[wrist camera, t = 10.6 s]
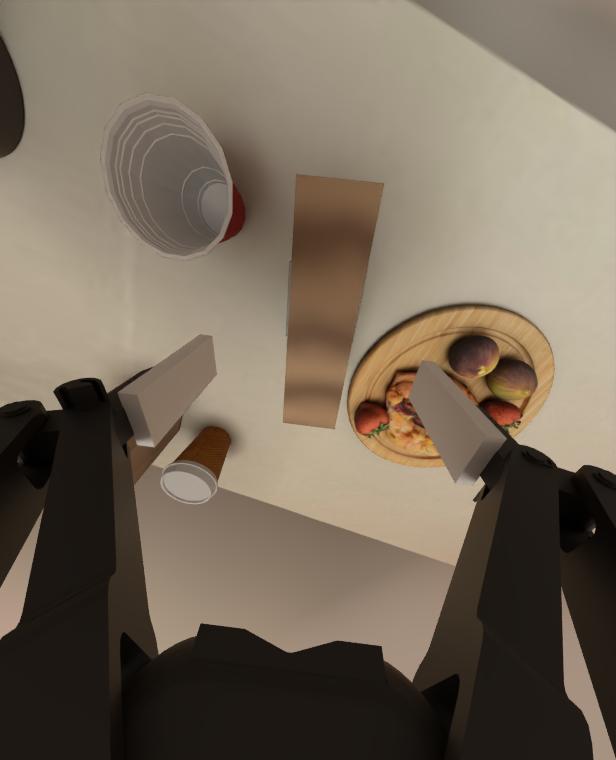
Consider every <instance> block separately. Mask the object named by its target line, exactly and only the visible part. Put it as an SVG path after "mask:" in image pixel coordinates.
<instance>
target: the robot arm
mask: <svg viewBox="0 0 616 760" xmlns="http://www.w3.org/2000/svg"><path fill="white" fill-rule="evenodd" d="M22 127H23V105H22V98H21V93H20V88H19V84H18V81H17V77H16V74H15V71H14V68H13V65H12V63H11V60H10V58H9V55H8V53H7V51H6V49H5V47H4V44H3V42H2V40H1V38H0V157H2V156H5V155H7V154H8V153H10V152H11V151H12V150H13V149H14V148H15V147H16V145H17V143H18V141H19V139H20V136H21V132H22ZM216 375H217V372H216V363H215V355H214V347H213V338H212V336H208V335H199V336H197V337H196V338H195V339H193V340H192V341H190V342H189V343H187V344H186V345H185V346H183V347H182V348H180V349H179V350H177V351H176V352H175V353H173V354H172V355H170V356H169V357H167V358H166V359H165V360H163V361H162V362H160V363H159V364H157V365H156V366H155V367H153V368H152V367H151V368H149V369H146V370H143V371H141V372H139V373H138V374H136V375H135V376H133V378H130V379H129V380H127V381H126V383H123V384H122V385H120V386H119V387H117V388H116V389H114V390H113V391H111V392H110V393H108V394H107V392H106V390H105V388H104V385H103V383H102V381H101V380H100V379H97V378H82V379H77V380H73V381H69V382H67V383H64V384H62V385H60V386H59V387H57V388H56V389H55V390H54V394H55V396H56V397H57V399H58V401H59V403H60V405H61V406H62V408H63V410H52V411H46V410H45V408H44V406H43V405H42V403H41V402H40V401H35V400H27V401H20V402H13V403H12V404H7V405H4V406H3V407H1V408H0V587H1V585H2V584H3V582H4V580H5V578H6V576H7V574H8V573H9V571H10V569H11V567H12V565H13V563H14V562H15V560H16V558H17V556H18V554H19V552H20V550H21V549H22V547H23V545H24V543H25V541H26V539H27V538H28V536H29V534H30V532H31V530H32V528H33V527H34V524H35V523H36V521H37V519H38V517H39V515H40V514H41V512H42V510H43V514H42V519H41V524H40V529H39V534H38V539H37V544H36V548H35V553H34V559H33V563H32V568H31V573H30V578H29V583H28V588H27V592H26V598H25V602H24V607H23V613H22V616H21V619H20V622H19V623H18V625H17V627H16V628H15V629H14V630H12V631H11V632H9V633H8V634H6V635H5V636H3V637H2V638H1V640H0V760H593V749H592V741H591V736H590V731H589V726H588V724H587V721H586V719H585V717H584V715H583V713H582V711H581V710H580V709H579V708H578V707H577V706H576V705H575V704H574V703H573V702H572V701H571V700H569V698H568V696H567V694H566V692H565V687H564V673H563V637H562V602H561V587H562V590H563V593H564V596H565V599H566V602H567V605H568V609H569V612H570V615H571V618H572V621H573V624H574V628H575V631H576V634H577V637H578V640H579V643H580V647H581V649H582V653H583V656H584V659H585V662H586V666H587V669H588V672H589V675H590V678H591V681H592V684H593V688H594V691H595V694H596V697H597V700H598V703H599V707H600V710H601V713H602V716H603V719H604V722H605V725H606V729H607V732H608V735H609V738H610V741H611V744H612V748H613V751H614V754H615V757H616V475H615V474H613V473H611V472H609V471H606V470H603V469H601V468H598V467H595V466H591V465H584V466H582V467H581V468H580V469H579V470H578V471H577V472H576V473H574V472H570V471H567V470H564V469H561V468H558V467H557V466H556V464H555V463H554V462H553V461H552V460H551V459H550V458H549V457H548V456H546V455H545V454H543V453H542V452H540V451H538V450H536V449H534V448H531V447H528V446H524V445H519V444H518V443H517V442H516V441H515V440H514V439H513V438H512V437H511V436H510V435H509V434H508V433H507V432H506V431H505V430H504V429H503V428H502V427H501V426H499V424H498V423H497V422H496V420H494V418H493V417H492V416H491V415H490V414H489V413H488V412H487V411H485V410H484V409H482V408H481V407H479V406H478V405H475V404H474V403H473V402H472V401H471V400H470V399H469V398H468V397H467V396H466V395H465V394H464V393H463V392H462V391H461V390H460V388H459V387H458V386H457V385H456V384H455V383H454V382H453V381H452V380H451V379H450V378H449V377H448V376H447V375H446V374H445V373H444V372H443V370H442V369H441V368H440V367H439V366H438V365H437V364H436V363H435V362H433V361H425V360H422V361H421V364H420V366H419V369H418V371H417V374H416V377H415V379H414V382H413V385H412V387H411V390H410V392H409V395H408V398H409V400H410V402H411V403H412V405H413V407H414V409H415V411H416V413H417V414H418V416H419V418H420V420H421V422H422V423H423V425H424V427H425V429H426V431H427V433H428V434H429V436H430V438H431V440H432V442H433V444H434V445H435V447H436V449H437V451H438V453H439V454H440V456H441V458H442V460H443V462H444V464H445V465H446V467H447V469H448V471H449V473H450V475H451V476H452V478H453V480H454V482H455V483H458V484H466V485H474V483H475V482H476V481H477V479H478V478H479V476H481V478H482V479H483V481H484V482H485V485H484V486H483V488H482V489H481V490H480V492H479V493H478V494H477V495H476V497H475V498H474V499H473V501H474V502H476V501H477V503H476V506H475V509H474V513H473V516H472V519H471V522H470V525H469V528H468V531H467V534H466V537H465V540H464V543H463V546H462V549H461V552H460V555H459V558H458V561H457V565H456V568H455V571H454V574H453V577H452V580H451V583H450V586H449V589H448V592H447V595H446V598H445V601H444V604H443V607H442V610H441V613H440V617H439V620H438V623H437V626H436V629H435V632H434V635H433V638H432V641H431V644H430V647H429V650H428V652H427V654H426V656H425V657H424V659H423V661H422V662H421V664H420V666H419V668H418V670H417V672H416V674H415V676H414V679H413V682H411V681H410V680H409V679H407V678H406V677H405V676H404V675H403V674H402V673H401V672H400V671H399V670H397V669H396V668H395V667H393V666H392V665H390V664H389V663H388V662H385V661H384V660H383V653H382V647H381V646H376V645H368V644H360V643H351V642H344V641H334V642H330V643H327V644H323V645H320V646H316V647H312V648H309V649H305V650H301V651H297V652H294V653H288V652H285V651H283V650H281V649H280V648H278V647H276V646H274V645H273V644H271V643H269V642H267V641H265V640H263V639H262V638H260V637H258V636H256V635H255V634H253V633H251V632H249V631H247V630H245V629H240V628H232V627H225V626H216V625H209V624H200V627H199V630H198V634H197V636H195V637H191V638H189V639H186V640H184V641H181V642H179V643H177V644H175V645H174V646H172V647H170V648H168V649H167V650H165V651H163V652H162V653H161V654H158V649H157V642H156V637H155V633H154V630H153V626H152V623H151V620H150V615H149V609H148V600H147V592H146V584H145V575H144V567H143V559H142V550H141V541H140V533H139V525H138V517H137V508H136V499H135V491H134V483H133V474H132V466H131V457H130V449H129V446H128V443H127V441H128V440H129V439H130V438H131V437H132V436H133V435H134V437H135V440H136V442H137V445H140V446H149V447H156V445H157V444H158V443H159V442H160V441H161V439H162V438H163V437H164V436H165V435H166V434H167V432H168V431H169V430H170V429H171V428H172V427H173V425H174V424H175V423H176V422H177V421H178V419H179V418H180V417H181V416H182V415H183V414H184V412H185V411H186V410H187V409H188V408H189V407H190V405H191V404H192V403H193V402H194V401H195V399H196V398H197V397H198V396H199V395H200V394H201V392H202V391H203V390H204V389H205V388H206V387H207V385H208V384H209V383H210V382H211V381H212V379H213V378H214V377H215V376H216ZM17 461H18V463H17ZM43 508H44V509H43ZM595 527H596V530H595V533H594V534H593V532H592V530H593V529H594V528H595Z"/></svg>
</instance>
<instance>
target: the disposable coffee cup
mask: <svg viewBox="0 0 616 760" xmlns="http://www.w3.org/2000/svg"><path fill="white" fill-rule="evenodd" d="M230 442H231V439H230V437H229V435H228V434H227V433H226V432H225V431H224V430H222V429H220V428H217V427H207V428H205V429H204V430H203V431H202V432H201V433H200V434H199V435H198V436H197V437H196V438H195V439H194V440H193V442H192V443H191V444H190V445H189V446H188V447H187V448H186V449H185V450H184V451H183V452H182V453H181V454H180V455H179V456H178V458H177V459H176V460H175V461H174V462H173V463H171V464H169V465H168V466H166V467H165V468H164V470H163V472H162V477H161V481H160V483H161V486H162V488H163V490H164V491H165V492H166V493H167V494H168V495H169V496H171V497H172V498H174V499H176V500H178V501H181V502H183V503H187V504H202V503H204V502H207V501H208V500H209V499H210V498H211V497H212V496H213V495H214V494H215V493H216V491H217V487H218V479H219V476H220V473H221V470H222V467H223V464H224V460H225V457H226V454H227V451H228V448H229V445H230Z"/></svg>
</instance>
